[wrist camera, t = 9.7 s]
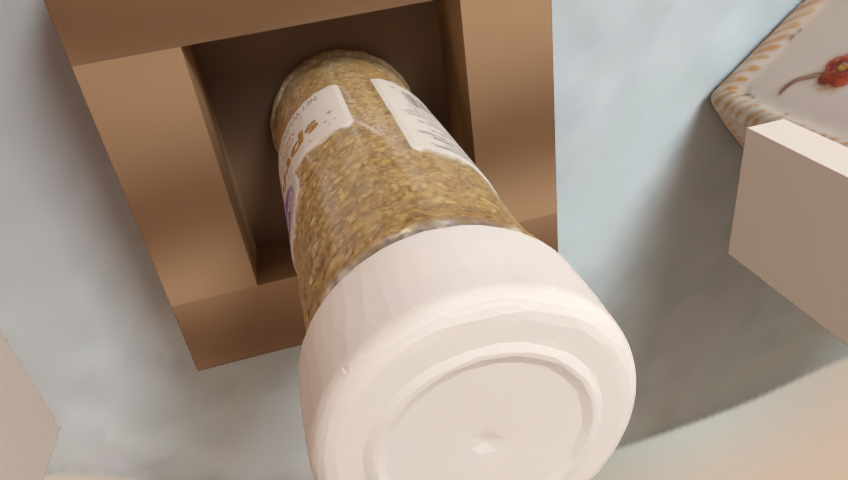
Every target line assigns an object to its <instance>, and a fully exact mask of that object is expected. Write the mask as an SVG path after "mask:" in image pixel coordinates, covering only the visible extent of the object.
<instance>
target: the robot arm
mask: <svg viewBox="0 0 848 480" xmlns="http://www.w3.org/2000/svg"><path fill="white" fill-rule="evenodd" d="M728 254H730V255H731V256H732V257H733V258H735V259H736V260H737V261H739V262H740V263H741V264H743V265H744V266H745V267H746V268H748V269H749V270H750V271H752V272H753V273H754V274H755V275H757V276H758V277H759V278H761V279H762V280H763V281H764V282H766V283H767V284H768V285H770V286H771V287H772V288H774V289H775V290H776V291H777V292H779V293H780V294H781V295H783V296H784V297H785V298H786V299H788V300H789V301H790V302H792V303H793V304H794V305H796V306H797V307H798V308H799V309H801V310H802V311H803V312H805V313H806V314H807V315H808V316H810V317H811V318H812V319H814V320H815V321H816V322H817V323H819V324H820V325H821V326H823V327H824V328H825V329H827V330H828V331H829V332H830V333H832V334H833V335H834V336H836V337H837V338H838V339H839V340H841V341H842V342H843V343H845V344H846V345H847V346H848V147H846V146H843V145H841V144H839V143H837V142H835V141H832V140H830V139H828V138H826V137H823V136H821V135H819V134H817V133H814V132H812V131H810V130H808V129H805V128H803V127H801V126H799V125H796V124H794V123H792V122H790V121H787V120H785V119H782V120H778V121H773V122H769V123H765V124H760V125H756V126H751V127H747V131H746V138H745V144H744V151H743V158H742V164H741V171H740V178H739V184H738V191H737V197H736V204H735V211H734V217H733V224H732V231H731V237H730V244H729V250H728ZM59 431H60V426H59V424H58V423H57V421H56V420H55V418H54V416H53V415H52V413H51V411H50V410H49V408H48V407H47V405H46V403H45V402H44V400H43V398H42V397H41V395H40V394H39V392H38V390H37V389H36V387H35V385H34V384H33V382H32V381H31V379H30V377H29V376H28V374H27V372H26V371H25V369H24V368H23V366H22V364H21V363H20V361H19V359H18V358H17V356H16V355H15V353H14V351H13V350H12V348H11V346H10V345H9V343H8V342H7V340H6V338H5V337H4V335H3V333H2V332H1V330H0V480H43V479H44V476H45V473H46V470H47V467H48V464H49V461H50V458H51V455H52V452H53V449H54V446H55V443H56V440H57V437H58V434H59Z"/></svg>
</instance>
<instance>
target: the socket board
mask: <svg viewBox="0 0 848 480" xmlns="http://www.w3.org/2000/svg"><path fill="white" fill-rule="evenodd" d="M44 2H45V4H46V7H47V9H48V11H49V14H50V16H51V19H52V21H53V24H54V26H55V28H56V31H57V33H58V36H59V38H60V40H61V43H62V45H63V48H64V50H65V52H66V55H67V57H68V60H69V62H70V64H71V67H72V69H73V72H74V74H75V76H76V79H77V81H78V84H79V86H80V89H81V91H82V93H83V96H84V98H85V101H86V103H87V105H88V108H89V110H90V113H91V115H92V117H93V120H94V122H95V125H96V127H97V129H98V132H99V134H100V137H101V139H102V141H103V144H104V146H105V149H106V151H107V154H108V156H109V158H110V161H111V163H112V166H113V168H114V170H115V173H116V175H117V178H118V180H119V182H120V185H121V187H122V190H123V192H124V194H125V197H126V199H127V202H128V204H129V206H130V209H131V211H132V214H133V216H134V219H135V221H136V223H137V226H138V228H139V231H140V233H141V235H142V238H143V240H144V243H145V245H146V247H147V250H148V252H149V255H150V257H151V259H152V262H153V264H154V267H155V269H156V271H157V274H158V276H159V279H160V281H161V283H162V286H163V288H164V291H165V293H166V296H167V298H168V300H169V303H170V305H171V308H172V310H173V312H174V315H175V317H176V320H177V322H178V324H179V327H180V329H181V332H182V334H183V336H184V339H185V341H186V344H187V346H188V348H189V351H190V353H191V356H192V358H193V361H194V363H195V365H196V368H197V370H198V371H200V370H204V369H208V368H212V367H216V366H220V365H224V364H227V363H231V362H235V361H239V360H243V359H247V358H251V357H254V356H258V355H262V354H266V353H270V352H274V351H278V350H282V349H285V348H289V347H293V346H297V345H301V344H302V343H303V340H304V337H305V335H306V327H305V324H304V313H303V309H302V305H301V299H300V291H299V282H298V277H297V273H296V270H295V267H294V264H293V260H292V255H291V248H290V241H289V233H288V226H287V220H286V214H285V206H284V201H283V195H282V189H281V183H280V176H279V156H278V153H277V151H276V149H275V146H274V143H273V140H272V132H271V127H270V119H271V114H272V109H273V104H274V100H275V97H276V95H277V92H278V91H279V89H280V86H281V85H282V83H283V82H284V80H285V79H286V78H287V76H288V75H289V74H290V73H291V72H292V71H294V70H295V69H296V68H297V67H298V66H299V65H301V64H303V62H304V61H306V60H307V59H309V58H311V57H313V56H315V55H317V54H320V53H323V52H325V51H328V50H333V49H343V50H354V51H364V52H366V53H368V54H370V55H373V56H376V57H378V58H380V59H382V60H384V61H386V62H387V63H388V64H390V65H391V66H392V67H393V68H394V69H395V70H396V71H397V72H398V73H400V74H401V75H402V77H403V78H404V80H405V81H406V82H407V84H408V86H409V88H410V90H411V92H412V94H413V95H415V96H416V97H417V98H418V99H419V100H420V101H421V102H422V103H423V104H424V105H425V106H426V107H427V108H428V110H429V111H430V112H431V113H432V114H433V115H434V117H435V118H436V119H437V120H438V121H439V122H440V124H441V125H442V126H443V127H444V128H445V129H446V131H447V132H448V133H449V134H450V135H451V137H452V138H453V139H454V140H455V141H456V142H457V144H458V145H459V146H460V147H461V148H462V150H463V151H464V152H465V153H466V154H467V156H468V157H469V158H470V159H471V160H472V162H473V163H474V164H475V165H476V166H477V167H478V169H479V170H480V171H481V172H482V173H483V175H484V176H485V177H486V178H487V179H488V181H489V182H490V183H491V185H492V186H493V188H494V190H495V191H496V193H497V195H498V196H499V198H500V200H501V201H502V202H503V203H504V204H505V206H506V207H507V209H508V211H509V212H510V213H511V215H512V216H514V217H515V219H516V220H517V221H518V223H519V224H520V225H521V226H522V227H523V228H524V229H525V230H526V231H527V232H528V233H530V234H532V235H533V236H535V237H536V238H538V239H539V240H540V241H542V242H543V243H545V244H547V245H548V246H550V247H551V248H553V249H554V250H555V251H556V252H557V253H558V239H557V200H556V161H555V121H554V82H553V43H552V3H551V0H44Z"/></svg>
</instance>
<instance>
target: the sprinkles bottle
mask: <svg viewBox="0 0 848 480" xmlns="http://www.w3.org/2000/svg"><path fill="white" fill-rule="evenodd" d="M270 127H271V132H272V140H273V143H274V146H275V149H276V151H277V153H278V156H279V176H280V183H281V189H282V195H283V201H284V206H285V214H286V220H287V226H288V233H289V241H290V248H291V255H292V260H293V264H294V267H295V270H296V273H297V277H298V282H299V291H300V299H301V305H302V309H303V313H304V324H305V327H306V335H305V337H304V340H303V343H302V348H301V353H300V359H299V387H300V397H301V408H302V417H303V424H304V430H305V437H306V444H307V450H308V455H309V460H310V466H311V469H312V472H313V475H314V478H315V480H591V479H592V478H593V477H594V476H595V475H596V474H597V473H598V472H599V471H600V470H601V469H602V467H603V466H604V465H605V463H606V462H607V461H608V459H609V458H610V457H611V455H612V454H613V452H614V451H615V449H616V447H617V445H618V444H619V442H620V440H621V438H622V436H623V434H624V432H625V430H626V428H627V425H628V423H629V420H630V417H631V414H632V410H633V407H634V401H635V395H636V371H635V364H634V360H633V355H632V352H631V349H630V346H629V343H628V341H627V339H626V337H625V335H624V333H623V332H622V330H621V329H620V327H619V326H618V324H617V323H616V322H615V320H614V319H613V317H612V316H611V315H610V313H609V312H608V311H607V309H606V308H605V307H604V306H603V304H602V303H601V302H600V300H599V299H598V298H597V296H596V295H595V294H594V293H593V292H592V290H591V289H590V288H589V287H588V286H587V284H586V283H585V282H584V281H583V280H582V278H581V277H580V276H579V275H578V274H577V273H576V271H575V270H574V269H573V268H572V267H571V266H570V265H569V264H568V263H567V262H566V260H565V259H564V258H563V257H562V256H561V255H560V254H559V253H557V252H556V251H555V250H554V249H553V248H551V247H550V246H548V245H547V244H545V243H543V242H542V241H540V240H539V239H538V238H536V237H535V236H533V235H532V234H530V233H528V232H527V231H526V230H525V229H524V228H523V227H522V226H521V225H520V224H519V223H518V221H517V220H516V219H515V217H514V216H512V215H511V213H510V212H509V211H508V209H507V207H506V206H505V204H504V203H503V202H502V201H501V200H500V198H499V196H498V195H497V193H496V191H495V190H494V188H493V186H492V185H491V183H490V182H489V181H488V179H487V178H486V177H485V176H484V175H483V173H482V172H481V171H480V170H479V169H478V167H477V166H476V165H475V164H474V163H473V162H472V160H471V159H470V158H469V157H468V156H467V154H466V153H465V152H464V151H463V150H462V148H461V147H460V146H459V145H458V144H457V142H456V141H455V140H454V139H453V138H452V137H451V135H450V134H449V133H448V132H447V131H446V129H445V128H444V127H443V126H442V125H441V124H440V122H439V121H438V120H437V119H436V118H435V117H434V115H433V114H432V113H431V112H430V111H429V110H428V108H427V107H426V106H425V105H424V104H423V103H422V102H421V101H420V100H419V99H418V98H417V97H416V96H415V95H413V94H412V92H411V90H410V88H409V86H408V84H407V82H406V81H405V80H404V78H403V77H402V75H401V74H400V73H398V72H397V71H396V70H395V69H394V68H393V67H392V66H391V65H390V64H388V63H387V62H386V61H384V60H382V59H380V58H378V57H376V56H373V55H370V54H368V53H366V52H364V51H354V50H343V49H333V50H328V51H325V52H323V53H320V54H317V55H315V56H313V57H311V58H309V59H307V60H306V61H304V62H303V64H301V65H299V66H298V67H297V68H296V69H295V70H294V71H292V72H291V73H290V74H289V75H288V76H287V78H286V79H285V80H284V82H283V83H282V85H281V86H280V89H279V91H278V92H277V95H276V97H275V100H274V104H273V109H272V114H271V119H270Z"/></svg>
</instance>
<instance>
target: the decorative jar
mask: <svg viewBox="0 0 848 480" xmlns="http://www.w3.org/2000/svg"><path fill="white" fill-rule="evenodd" d="M711 103H712V105H713V107H714V109H715V110H716V111H717V113H718V114H719V116H720V118H721V120H722V121H723V122H724V124H725V125H726V127H727V128H728V130H729V131H730V132H731V133H732V134H733V136H734V137H735V138H736V140H737V141H738V142H739V144H740V145H741V146H742V147H743V149H744V144H745V138H746V131H747V127H751V126H756V125H760V124H765V123H769V122H773V121H778V120H782V119H785V120H787V121H790V122H792V123H794V124H796V125H799V126H801V127H803V128H805V129H808V130H810V131H812V132H814V133H817V134H819V135H821V136H823V137H826V138H828V139H830V140H832V141H835V142H837V143H839V144H841V145H843V146H846V147H848V0H805V1H804V2H803V3H801V4H800V5H799V6H798V7H797V8H795V9H794V10H793V12H792V13H791V14H790V15H789V16H788V17H787V18H786V19H785V20H784V21H783V22H782V23H781V24H780V25H779V26H778V27H777V28H776V29H775V30H774V31H773V32H772V33H771V34H770V35H769V36H768V37H767V38H766V39H765V40H764V41H763V42H762V43H761V44H760V45H759V46H758V47H757V48H756V49H755V50H754V51H753V52H752V53H751V54H750V55H749V56H748V57H747V58H746V59H745V60H744V61H743V62H742V64H741V65H739V66H738V67H737V68H736V70H735V71H734V72H733V73H732V74H731V75H729V76H728V77H727V78H726V79H725V80H724V81H723V82H722V83H721V84H720V85H719V86H718V87H717V89H716V90H715V91H714V92H713V93H712V95H711Z"/></svg>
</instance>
